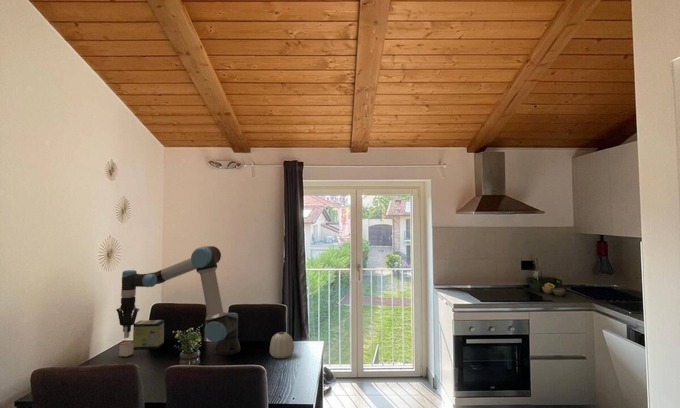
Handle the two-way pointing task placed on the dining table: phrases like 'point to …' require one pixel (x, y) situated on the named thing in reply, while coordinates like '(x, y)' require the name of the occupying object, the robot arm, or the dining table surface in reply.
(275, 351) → the vase
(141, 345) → the protein box
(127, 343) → the beige faceted cup
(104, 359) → the dining table surface
